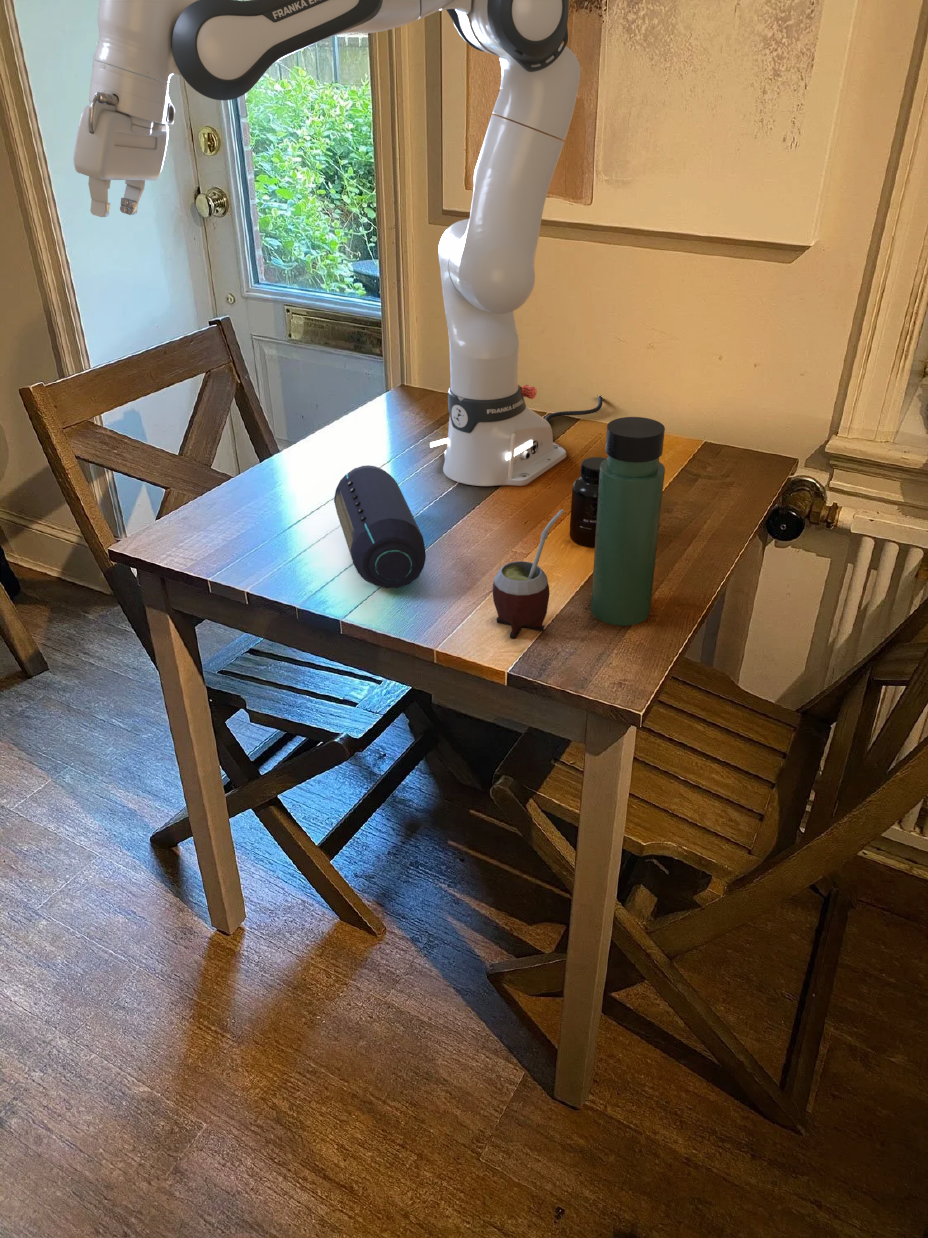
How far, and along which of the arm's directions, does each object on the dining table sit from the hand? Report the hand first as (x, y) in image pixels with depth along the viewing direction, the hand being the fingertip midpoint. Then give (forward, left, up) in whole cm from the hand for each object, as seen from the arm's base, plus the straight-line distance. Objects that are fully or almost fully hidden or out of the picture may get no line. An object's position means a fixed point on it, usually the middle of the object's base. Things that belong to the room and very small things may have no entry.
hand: (114, 214), depth 122 cm
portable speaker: (-15, +31, -45) cm, 56 cm away
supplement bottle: (-40, +50, -45) cm, 78 cm away
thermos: (-27, +65, -44) cm, 83 cm away
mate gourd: (-16, +58, -45) cm, 75 cm away
